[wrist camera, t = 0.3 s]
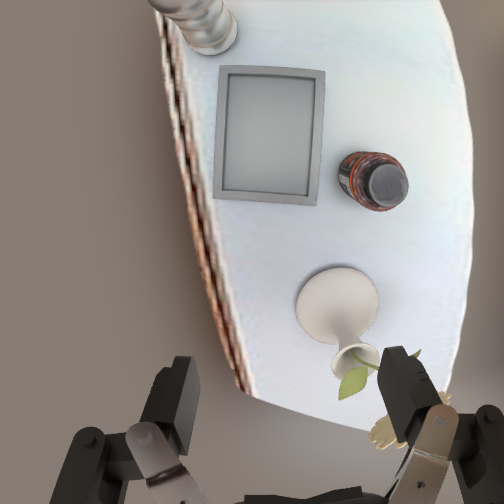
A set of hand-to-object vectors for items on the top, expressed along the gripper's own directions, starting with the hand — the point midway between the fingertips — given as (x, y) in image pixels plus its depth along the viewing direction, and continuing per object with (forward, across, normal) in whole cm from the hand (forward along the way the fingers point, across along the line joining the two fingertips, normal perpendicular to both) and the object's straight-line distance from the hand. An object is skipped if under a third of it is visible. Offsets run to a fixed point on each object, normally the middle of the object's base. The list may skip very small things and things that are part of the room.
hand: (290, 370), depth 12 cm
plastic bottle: (+30, +6, -22) cm, 38 cm away
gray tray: (+29, 0, -9) cm, 30 cm away
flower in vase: (+27, -9, +13) cm, 31 cm away
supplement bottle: (+28, -11, -4) cm, 30 cm away
